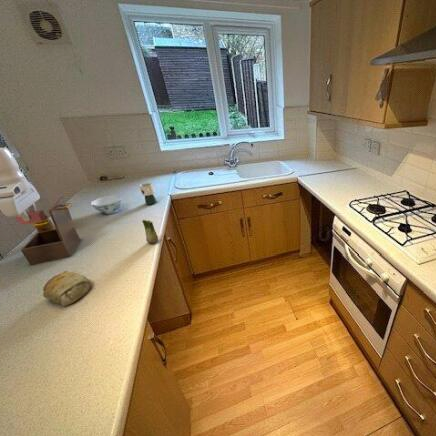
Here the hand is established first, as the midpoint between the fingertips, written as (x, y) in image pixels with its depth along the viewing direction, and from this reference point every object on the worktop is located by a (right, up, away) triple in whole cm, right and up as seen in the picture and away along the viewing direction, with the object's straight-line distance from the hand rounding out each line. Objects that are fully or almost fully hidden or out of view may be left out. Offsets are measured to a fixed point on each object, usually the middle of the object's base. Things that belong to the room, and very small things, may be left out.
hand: (31, 217), depth 100 cm
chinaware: (-2, +3, +47) cm, 48 cm away
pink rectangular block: (0, -2, +1) cm, 2 cm away
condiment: (-13, -10, +22) cm, 27 cm away
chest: (+1, -16, +10) cm, 19 cm away
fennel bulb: (+42, -12, +16) cm, 46 cm away
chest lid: (+7, 0, +6) cm, 9 cm away
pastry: (+29, -28, -13) cm, 42 cm away
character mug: (+16, +9, +58) cm, 61 cm away
